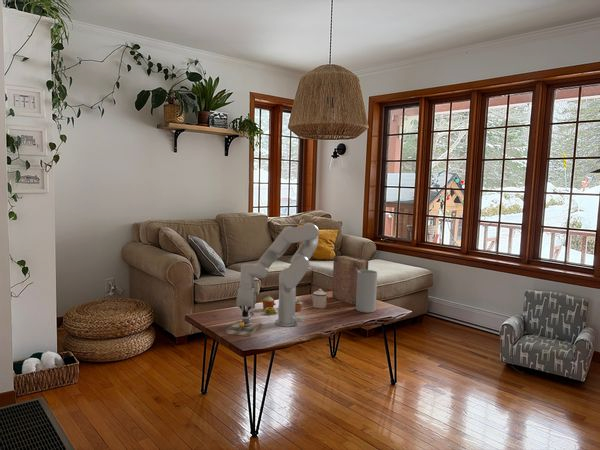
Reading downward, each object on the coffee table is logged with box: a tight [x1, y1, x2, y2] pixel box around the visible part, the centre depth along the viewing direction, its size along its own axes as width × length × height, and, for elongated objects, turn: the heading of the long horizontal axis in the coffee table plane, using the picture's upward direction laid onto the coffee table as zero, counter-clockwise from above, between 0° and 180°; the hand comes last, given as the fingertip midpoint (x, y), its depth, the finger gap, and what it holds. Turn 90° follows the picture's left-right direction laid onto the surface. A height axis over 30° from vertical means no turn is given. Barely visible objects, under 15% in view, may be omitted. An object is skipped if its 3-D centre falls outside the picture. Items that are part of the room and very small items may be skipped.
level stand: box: [225, 320, 263, 337], centre depth 250 cm, size 14×18×2 cm
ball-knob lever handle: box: [239, 311, 254, 328], centre depth 255 cm, size 23×6×4 cm, turn 172°
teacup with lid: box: [310, 288, 328, 309], centre depth 301 cm, size 12×9×12 cm
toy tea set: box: [260, 295, 303, 316], centre depth 289 cm, size 26×16×10 cm, turn 115°
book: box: [332, 254, 369, 307], centre depth 316 cm, size 25×9×30 cm, turn 35°
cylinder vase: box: [355, 269, 378, 314], centre depth 295 cm, size 12×12×25 cm
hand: (245, 317), depth 260 cm, fingers closed
